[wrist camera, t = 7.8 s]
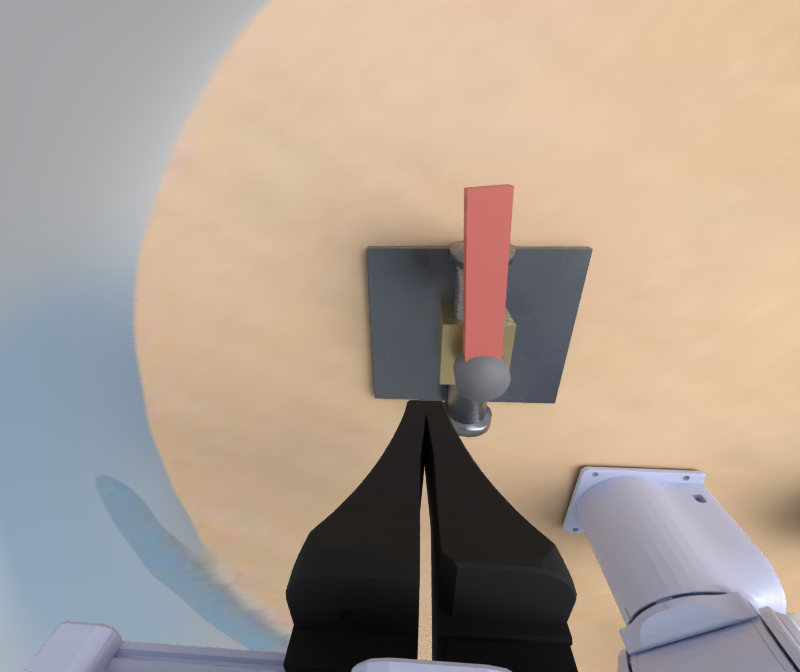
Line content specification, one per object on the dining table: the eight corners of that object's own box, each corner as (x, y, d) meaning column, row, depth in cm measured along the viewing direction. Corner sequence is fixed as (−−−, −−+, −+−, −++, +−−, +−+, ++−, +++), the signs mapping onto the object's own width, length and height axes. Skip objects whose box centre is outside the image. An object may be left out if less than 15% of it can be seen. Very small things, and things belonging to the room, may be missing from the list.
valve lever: (503, 388, 19) (508, 401, 18) (453, 389, 19) (455, 402, 18) (519, 183, 14) (527, 184, 13) (452, 188, 15) (454, 190, 13)
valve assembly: (367, 237, 20) (354, 256, 16) (589, 238, 20) (632, 257, 16) (376, 398, 26) (367, 441, 22) (550, 403, 25) (574, 449, 21)
